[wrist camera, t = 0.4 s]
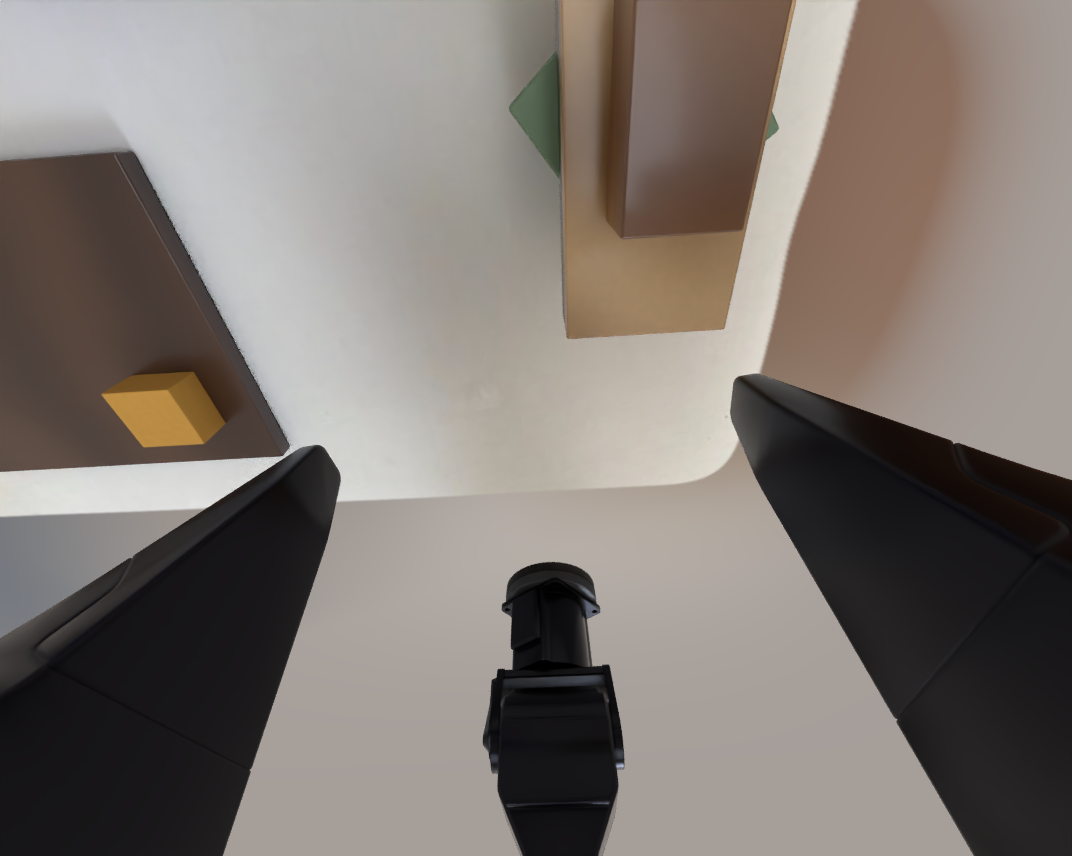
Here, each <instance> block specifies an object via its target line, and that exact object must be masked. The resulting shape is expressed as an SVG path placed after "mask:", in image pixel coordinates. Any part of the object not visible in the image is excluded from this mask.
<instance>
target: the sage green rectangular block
mask: <svg viewBox="0 0 1072 856" xmlns="http://www.w3.org/2000/svg"><path fill="white" fill-rule="evenodd" d="M509 110H510V112H511V113H512V115H513V116H514V118H515V119H516V120H517V122H518V123H519V124H520V126H521V127H522V129H523V130H524V131H525V133H526V134H527V135H528V137H529V138H530V139H531V141H532V142H533V144H534V145H535V146H536V148H537V149H538V150H539V152H540V153H541V155H542V156H543V157H544V159H545V160H546V161H547V163H548V164H549V166H550V167H551V168H552V170H553V171H554V172H555V174H556V175H557V176H558V178H559V179H560V177H559V136H558V94H557V53H556V52H555V53H554V55H553V56H552V57H551V58H550V59H549V60H548V61H547V63H546V64H545V65H544V66H543V67H542V68H541V70H540V71H539V72H538V73H537V74H536V75H535V77H534V78H533V79H532V80H531V81H530V82H529V84H528V85H527V86H526V87H525V88H524V89H523V91H522V92H521V93H520V94H519V95H518V96H517V98H516V99H515V100H514V101H513V102H512V103H511V105H510V107H509ZM778 129H779V128H778V124H777V122H776V119H775V117H774V115H773V112H772V114H771V118H770V123H769V127H768V132H767V136H766V140H767V139H768V138H769V137H771V136H772V135H773V134H774V133H775V132H776V131H777V130H778Z"/></svg>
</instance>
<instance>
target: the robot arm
mask: <svg viewBox="0 0 1072 856" xmlns="http://www.w3.org/2000/svg"><path fill="white" fill-rule="evenodd" d="M730 415H731V420H732V423H733V425H734V428H735V430H736V432H737V435H738V437H739V440H740V442H741V444H742V447H743V449H744V451H745V454H746V456H747V459H748V461H749V463H750V466H751V468H752V470H753V473H754V475H755V477H756V479H757V481H758V483H759V485H760V487H761V489H762V491H763V492H764V494H765V496H766V497H767V499H768V501H769V503H770V504H771V506H772V508H773V510H774V511H775V513H776V515H777V516H778V518H779V520H780V522H781V523H782V525H783V527H784V529H785V530H786V532H787V534H788V535H789V537H790V539H791V541H792V542H793V544H794V546H795V548H796V549H797V551H798V553H799V554H800V556H801V558H802V560H803V561H804V563H805V565H806V566H807V568H808V570H809V572H810V573H811V575H812V577H813V578H814V580H815V582H816V584H817V585H818V587H819V589H820V591H821V592H822V594H823V596H824V598H825V599H826V601H827V603H828V604H829V606H830V608H831V609H832V611H833V613H834V615H835V616H836V618H837V620H838V622H839V623H840V625H841V627H842V629H843V630H844V632H845V634H846V635H847V637H848V639H849V641H850V642H851V644H852V646H853V647H854V649H855V651H856V653H857V654H858V656H859V658H860V660H861V661H862V663H863V665H864V667H865V668H866V670H867V672H868V673H869V675H870V677H871V679H872V680H873V682H874V684H875V686H876V687H877V689H878V691H879V692H880V694H881V696H882V698H883V699H884V701H885V703H886V704H887V706H888V708H889V709H890V711H891V713H892V715H893V716H894V717H895V718H896V719H897V724H898V726H899V728H900V729H901V731H902V733H903V735H904V736H905V738H906V740H907V741H908V743H909V745H910V747H911V748H912V750H913V752H914V753H915V755H916V757H917V758H918V760H919V762H920V764H921V766H922V767H923V769H924V771H925V772H926V774H927V776H928V778H929V779H930V781H931V783H932V785H933V786H934V788H935V790H936V791H937V793H938V795H939V796H940V798H941V800H942V802H943V804H944V805H945V807H946V808H947V810H948V812H949V814H950V815H951V817H952V819H953V821H954V822H955V824H956V826H957V828H958V829H959V831H960V833H961V834H962V836H963V838H964V840H965V841H966V843H967V845H968V847H969V848H970V850H971V852H972V853H973V855H974V856H1072V480H1070V479H1066V478H1063V477H1060V476H1057V475H1053V474H1050V473H1047V472H1044V471H1040V470H1037V469H1034V468H1031V467H1028V466H1025V465H1022V464H1019V463H1016V462H1013V461H1010V460H1006V459H1004V458H1001V457H998V456H995V455H991V454H988V453H986V452H982V451H980V450H977V449H974V448H971V447H968V446H966V445H962V444H960V443H955V444H953V442H952V441H951V440H948V439H945V438H942V437H939V436H937V435H934V434H931V433H928V432H925V431H922V430H919V429H916V428H913V427H910V426H908V425H905V424H902V423H899V422H896V421H893V420H890V419H887V418H885V417H882V416H879V415H876V414H873V413H870V412H867V411H864V410H861V409H858V408H856V407H853V406H850V405H847V404H844V403H841V402H838V401H835V400H833V399H830V398H827V397H824V396H821V395H818V394H815V393H812V392H810V391H807V390H804V389H801V388H798V387H795V386H792V385H789V384H786V383H784V382H781V381H778V380H775V379H772V378H769V377H766V376H763V375H761V374H750V375H744V376H739V377H737V378H736V379H735V381H734V383H733V391H732V400H731V409H730ZM340 482H341V477H340V473H339V470H338V469H337V467H336V465H335V464H334V462H333V461H332V459H331V458H330V456H329V454H328V453H327V451H326V450H325V448H324V447H322V446H320V445H313V446H306V447H302V448H300V449H298V450H296V451H295V452H293V453H292V454H290V455H289V456H287V457H286V458H284V459H282V460H281V461H279V462H278V463H276V464H275V465H273V466H272V467H270V468H268V469H267V470H265V471H264V472H262V473H261V474H259V475H258V476H256V477H255V478H253V479H251V480H250V481H248V482H247V483H245V484H244V485H242V486H241V487H239V488H237V489H236V490H234V491H233V492H231V493H230V494H228V495H227V496H225V497H224V498H222V499H220V500H219V501H217V502H216V503H214V504H213V505H211V506H210V507H208V508H206V509H205V510H203V511H202V512H200V513H199V514H197V515H196V516H194V517H193V518H191V519H189V520H188V521H186V522H185V523H183V524H182V525H180V526H179V527H177V528H175V529H174V530H172V531H171V532H169V533H168V534H166V535H165V536H163V537H162V538H160V539H159V540H157V541H155V542H154V543H152V544H151V545H149V546H148V547H146V548H145V549H143V550H141V551H140V552H138V553H137V554H135V555H134V556H133V558H129V559H127V560H126V561H124V562H123V563H121V564H120V565H118V566H116V567H115V568H113V569H112V570H110V571H109V572H107V573H106V574H104V575H102V576H101V577H99V578H98V579H96V580H94V581H93V582H91V583H90V584H88V585H87V586H85V587H83V588H82V589H80V590H79V591H77V592H75V593H74V594H72V595H71V596H69V597H67V598H66V599H64V600H62V601H61V602H59V603H58V604H56V605H54V606H53V607H51V608H49V609H48V610H46V611H45V612H43V613H41V614H40V615H38V616H36V617H35V618H33V619H31V620H30V621H28V622H26V623H25V624H23V625H21V626H20V627H18V628H16V629H15V630H13V631H11V632H10V633H8V634H6V635H5V636H3V637H1V638H0V856H223V854H224V850H225V848H226V845H227V841H228V838H229V836H230V833H231V830H232V826H233V824H234V821H235V817H236V815H237V811H238V809H239V806H240V802H241V800H242V797H243V793H244V790H245V788H246V784H247V781H248V778H249V776H250V769H251V768H252V766H253V762H254V759H255V757H256V753H257V751H258V748H259V744H260V742H261V739H262V736H263V732H264V729H265V727H266V723H267V721H268V718H269V714H270V712H271V709H272V706H273V703H274V700H275V697H276V694H277V691H278V688H279V685H280V682H281V679H282V676H283V673H284V670H285V667H286V664H287V661H288V658H289V655H290V652H291V649H292V646H293V643H294V640H295V637H296V634H297V631H298V628H299V625H300V622H301V619H302V616H303V613H304V610H305V607H306V604H307V600H308V598H309V595H310V592H311V589H312V586H313V582H314V580H315V577H316V574H317V571H318V568H319V565H320V562H321V559H322V556H323V553H324V550H325V547H326V543H327V540H328V536H329V532H330V528H331V523H332V519H333V514H334V509H335V505H336V500H337V496H338V491H339V487H340ZM502 611H503V612H505V613H506V614H508V615H510V616H512V626H511V649H512V650H513V669H512V670H505V669H498V671H497V678H495V679H493V680H492V684H491V698H490V706H489V711H488V716H487V720H486V725H485V730H484V734H483V746H484V747H485V748H486V750H487V751H488V752H489V759H490V762H491V771H492V773H493V774H498V785H497V786H498V793H499V797H500V800H501V804H502V807H503V811H504V814H505V817H506V821H507V823H508V826H509V828H510V831H511V833H512V836H513V838H514V841H515V843H516V846H517V848H518V851H519V854H520V855H521V856H603V853H604V850H605V846H606V843H607V840H608V837H609V834H610V831H611V827H612V824H613V821H614V818H615V812H616V803H617V794H618V776H617V770H623V769H624V749H623V738H622V730H621V724H620V718H619V712H618V707H617V702H616V697H615V692H614V686H613V681H612V676H611V671H610V666H609V665H602V666H593V667H592V660H591V651H590V642H589V634H588V626H587V619H588V618H590V617H592V616H594V615H597V614H599V613H600V606H599V605H598V604H596V603H595V602H593V601H592V600H590V599H589V598H587V597H586V596H584V595H583V594H582V593H580V592H579V591H577V590H576V589H574V588H573V587H571V586H570V585H568V584H567V583H566V582H564V581H563V580H561V579H560V578H557V577H553V578H550V579H549V580H547V581H545V582H543V583H541V584H539V585H537V586H535V587H533V588H531V589H530V590H528V591H526V592H524V593H522V594H520V595H518V596H516V597H514V598H512V599H511V600H509V601H507V602H505V603H503V604H502Z"/></svg>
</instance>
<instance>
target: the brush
mask: <svg viewBox="0 0 1072 856" xmlns="http://www.w3.org/2000/svg"><path fill="white" fill-rule="evenodd" d="M795 4H796V0H555V11H556V53H557V94H558V136H559V177H560V219H561V260H562V301H563V317H564V323H565V329H566V335H567V338H568V339H577V338H593V337H609V336H625V335H641V334H657V333H673V332H689V331H705V330H721V329H724V328H725V323H726V319H727V314H728V310H729V305H730V301H731V296H732V291H733V287H734V282H735V278H736V273H737V269H738V264H739V259H740V255H741V250H742V246H743V241H744V237H745V232H746V228H747V223H748V218H749V214H750V209H751V205H752V200H753V196H754V191H755V187H756V182H757V177H758V173H759V168H760V164H761V159H762V155H763V150H764V146H765V141H766V136H767V132H768V127H769V123H770V118H771V114H772V109H773V104H774V100H775V95H776V91H777V86H778V82H779V77H780V73H781V68H782V63H783V59H784V54H785V50H786V45H787V41H788V36H789V32H790V27H791V22H792V18H793V13H794V9H795Z"/></svg>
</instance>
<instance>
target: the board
mask: <svg viewBox="0 0 1072 856" xmlns="http://www.w3.org/2000/svg"><path fill="white" fill-rule="evenodd" d="M177 372H194V373H195V375H196V376H197V378H198V380H199V381H200V383H201V384H202V386H203V388H204V389H205V391H206V392H207V394H208V396H209V397H210V399H211V400H212V402H213V404H214V405H215V407H216V408H217V410H218V412H219V413H220V415H221V416H222V418H223V420H224V421H225V423H226V424H225V425H224V426H223V427H222V428H220V429H219V430H218V431H217V432H216V433H215V434H214V435H213V436H212V437H211V438H210V439H209V440H208V441H207V442H206V443H205V444H194V445H177V446H159V447H143V446H142V445H141V444H140V442H139V441H138V440H137V439H136V437H135V436H134V435H133V434H132V432H131V431H130V430H129V429H128V427H127V426H126V425H125V424H124V422H123V421H122V420H121V419H120V417H119V416H118V415H117V414H116V412H115V411H114V410H113V409H112V407H111V406H110V405H109V404H108V402H107V401H106V400H105V399H104V397H103V396H102V395H101V394H102V393H103V392H105V391H107V390H108V389H110V388H112V387H113V386H115V385H116V384H118V383H120V382H121V381H123V380H125V379H126V378H128V377H130V376H131V375H144V374H161V373H177ZM288 448H289V444H288V443H287V441H286V439H285V437H284V435H283V433H282V431H281V429H280V427H279V426H278V424H277V422H276V420H275V418H274V416H273V414H272V412H271V411H270V409H269V407H268V405H267V403H266V401H265V399H264V397H263V396H262V394H261V392H260V390H259V388H258V386H257V384H256V382H255V381H254V379H253V377H252V375H251V373H250V371H249V369H248V367H247V365H246V364H245V362H244V360H243V358H242V356H241V354H240V352H239V350H238V349H237V347H236V345H235V343H234V341H233V339H232V337H231V335H230V334H229V332H228V330H227V328H226V326H225V324H224V322H223V320H222V318H221V317H220V315H219V313H218V311H217V309H216V307H215V305H214V303H213V302H212V300H211V298H210V296H209V294H208V292H207V290H206V288H205V287H204V285H203V283H202V281H201V279H200V277H199V275H198V273H197V271H196V270H195V268H194V266H193V264H192V262H191V260H190V258H189V256H188V255H187V253H186V251H185V249H184V247H183V245H182V243H181V241H180V240H179V238H178V236H177V234H176V232H175V230H174V228H173V226H172V224H171V223H170V221H169V219H168V217H167V215H166V213H165V211H164V209H163V208H162V206H161V204H160V202H159V200H158V198H157V196H156V194H155V193H154V191H153V189H152V187H151V185H150V183H149V181H148V179H147V178H146V176H145V174H144V172H143V170H142V168H141V166H140V164H139V162H138V161H137V159H136V157H135V155H134V153H133V152H130V151H127V152H109V153H96V154H83V155H71V156H58V157H45V158H32V159H19V160H6V161H0V472H7V471H25V470H43V469H61V468H79V467H97V466H115V465H133V464H151V463H169V462H187V461H205V460H223V459H241V458H259V457H277V456H283V455H284V454H285V452H286V451H287V450H288Z"/></svg>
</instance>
